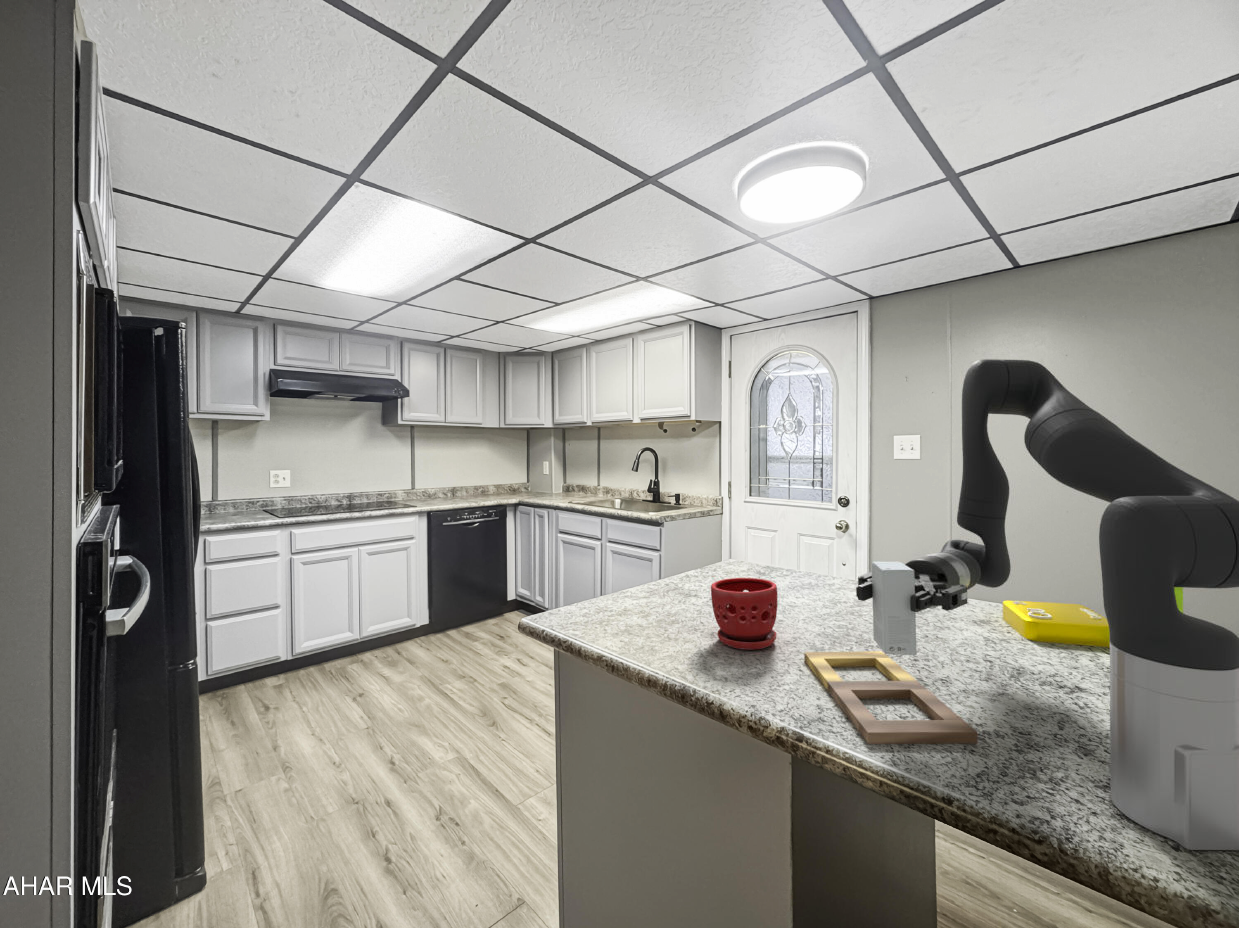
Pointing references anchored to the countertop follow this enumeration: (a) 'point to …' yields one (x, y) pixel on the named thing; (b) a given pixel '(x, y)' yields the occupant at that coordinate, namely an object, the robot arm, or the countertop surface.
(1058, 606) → the element tile
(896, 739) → the double wooden frame
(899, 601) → the skincare box
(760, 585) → the plant pot
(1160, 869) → the countertop surface
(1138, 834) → the countertop surface
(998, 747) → the countertop surface
